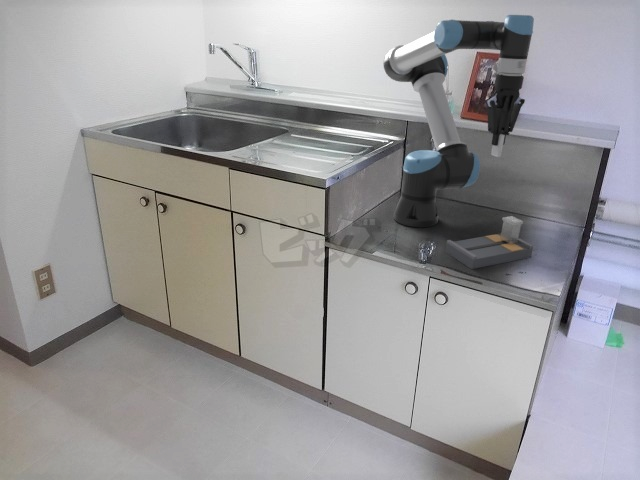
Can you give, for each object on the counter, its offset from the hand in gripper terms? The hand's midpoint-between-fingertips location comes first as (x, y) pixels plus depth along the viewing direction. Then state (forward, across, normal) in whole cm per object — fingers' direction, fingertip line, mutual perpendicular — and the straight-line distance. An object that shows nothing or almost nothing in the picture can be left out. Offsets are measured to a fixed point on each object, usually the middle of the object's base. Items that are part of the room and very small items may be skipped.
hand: (495, 155), depth 155 cm
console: (+26, -8, -12) cm, 30 cm away
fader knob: (+23, -1, -12) cm, 26 cm away
